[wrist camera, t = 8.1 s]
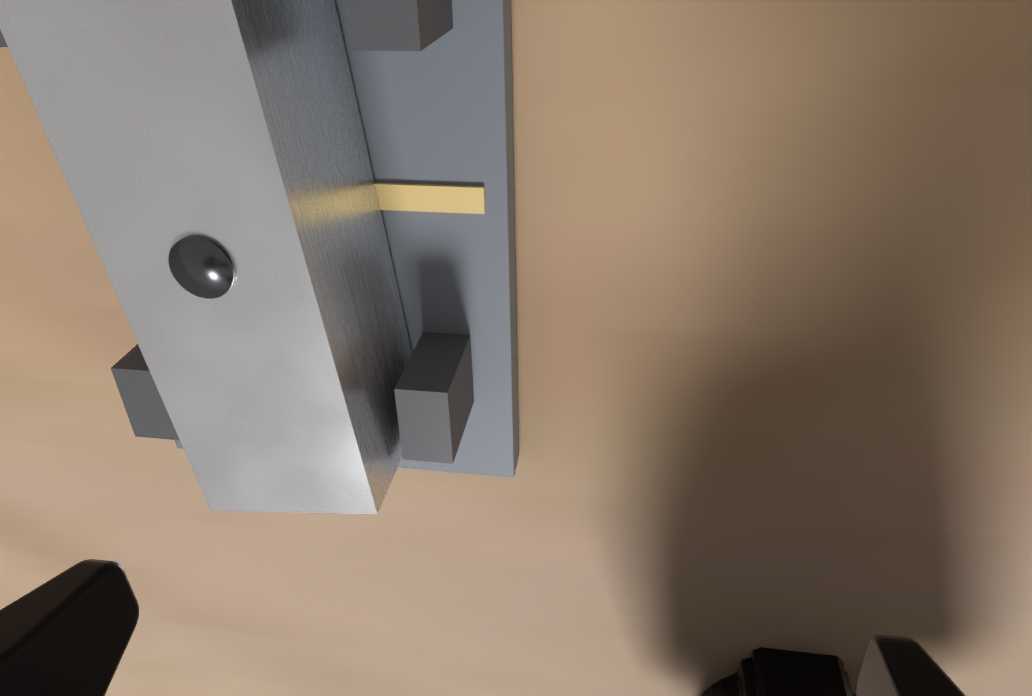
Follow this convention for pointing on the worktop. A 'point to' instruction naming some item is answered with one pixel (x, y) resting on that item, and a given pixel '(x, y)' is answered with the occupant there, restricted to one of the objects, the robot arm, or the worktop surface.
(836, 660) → the robot arm
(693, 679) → the worktop surface
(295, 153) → the shiny metal block
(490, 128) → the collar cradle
